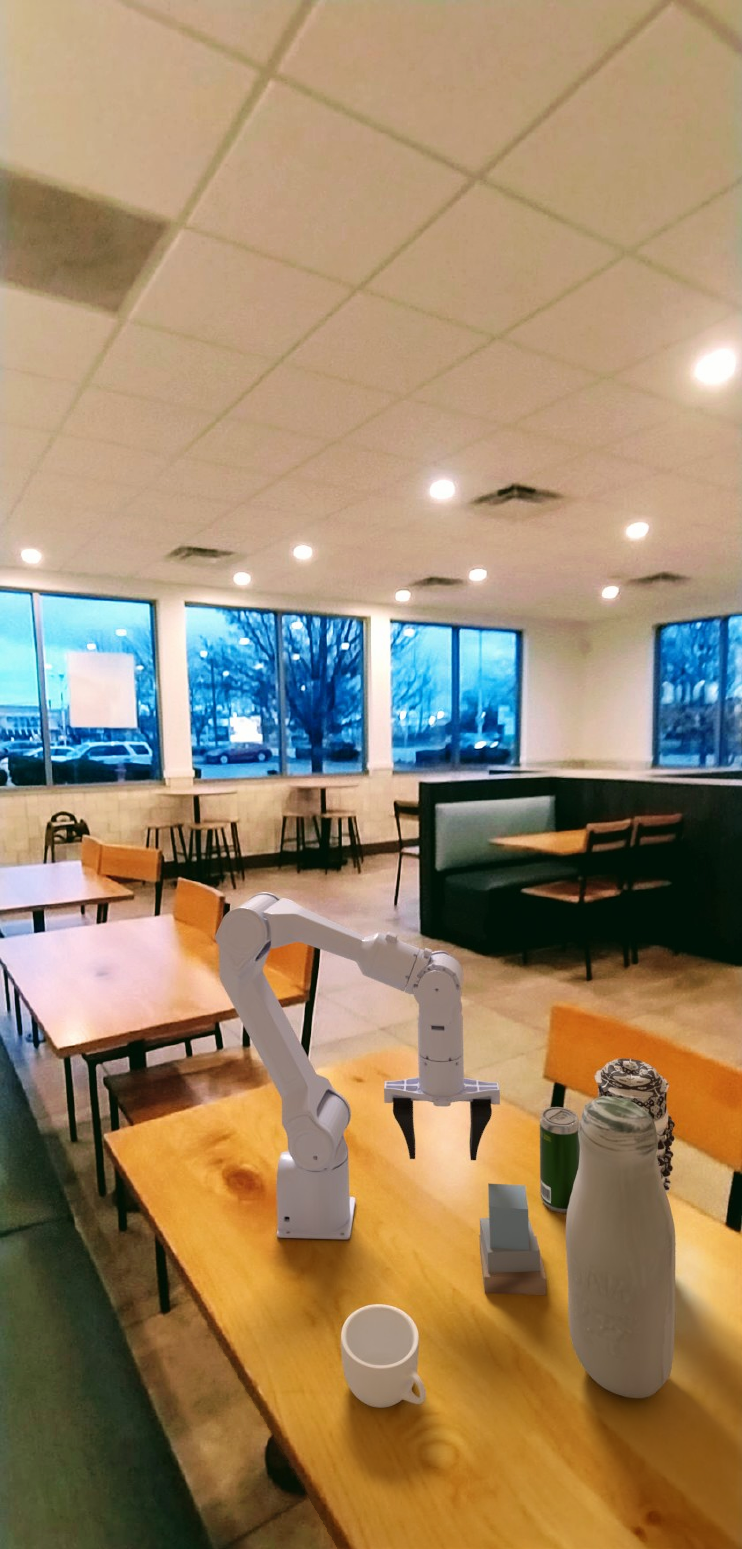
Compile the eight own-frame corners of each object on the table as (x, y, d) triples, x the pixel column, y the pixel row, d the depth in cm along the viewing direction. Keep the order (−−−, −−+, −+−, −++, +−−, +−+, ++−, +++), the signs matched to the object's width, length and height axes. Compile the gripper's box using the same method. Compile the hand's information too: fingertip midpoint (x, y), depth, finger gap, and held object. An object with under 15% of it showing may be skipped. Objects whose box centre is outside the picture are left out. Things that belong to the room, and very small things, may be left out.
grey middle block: (488, 1273, 85) (487, 1252, 84) (480, 1237, 91) (479, 1218, 90) (540, 1271, 85) (539, 1250, 85) (528, 1235, 91) (528, 1216, 90)
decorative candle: (676, 1312, 81) (676, 1092, 79) (588, 1291, 84) (587, 1080, 82) (672, 1256, 89) (673, 1056, 88) (593, 1239, 92) (592, 1046, 91)
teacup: (326, 1383, 73) (324, 1332, 73) (382, 1339, 78) (381, 1291, 78) (394, 1456, 66) (393, 1400, 65) (452, 1403, 71) (451, 1350, 70)
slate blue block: (490, 1248, 85) (489, 1206, 85) (488, 1222, 90) (488, 1183, 89) (528, 1250, 85) (528, 1209, 84) (525, 1224, 89) (525, 1185, 89)
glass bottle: (682, 1360, 75) (682, 1093, 73) (662, 1443, 66) (662, 1144, 64) (585, 1319, 80) (583, 1071, 78) (554, 1392, 71) (552, 1114, 70)
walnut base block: (484, 1297, 84) (484, 1276, 84) (479, 1254, 91) (479, 1235, 91) (546, 1299, 84) (546, 1278, 84) (536, 1255, 91) (536, 1236, 91)
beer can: (562, 1219, 96) (561, 1131, 96) (531, 1198, 101) (531, 1114, 100) (589, 1204, 99) (588, 1118, 98) (559, 1184, 104) (558, 1102, 103)
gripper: (381, 1065, 89) (384, 1172, 90) (501, 1066, 88) (503, 1175, 89) (384, 1040, 96) (387, 1140, 97) (496, 1041, 95) (497, 1142, 96)
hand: (442, 1155), depth 94 cm, fingers open, 7 cm apart
